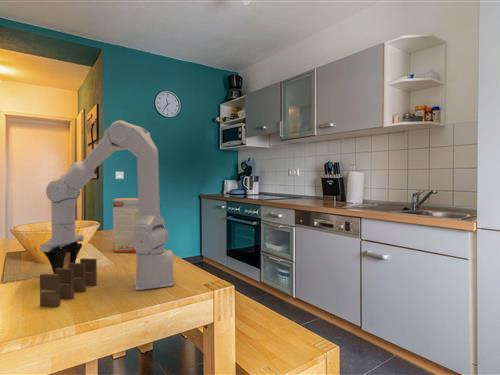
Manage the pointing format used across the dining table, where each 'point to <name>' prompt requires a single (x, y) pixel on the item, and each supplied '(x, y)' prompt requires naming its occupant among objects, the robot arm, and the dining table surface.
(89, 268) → the domino
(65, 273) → the domino
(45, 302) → the domino
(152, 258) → the robot arm
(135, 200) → the cracker box
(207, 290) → the dining table surface
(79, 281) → the domino
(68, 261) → the domino
